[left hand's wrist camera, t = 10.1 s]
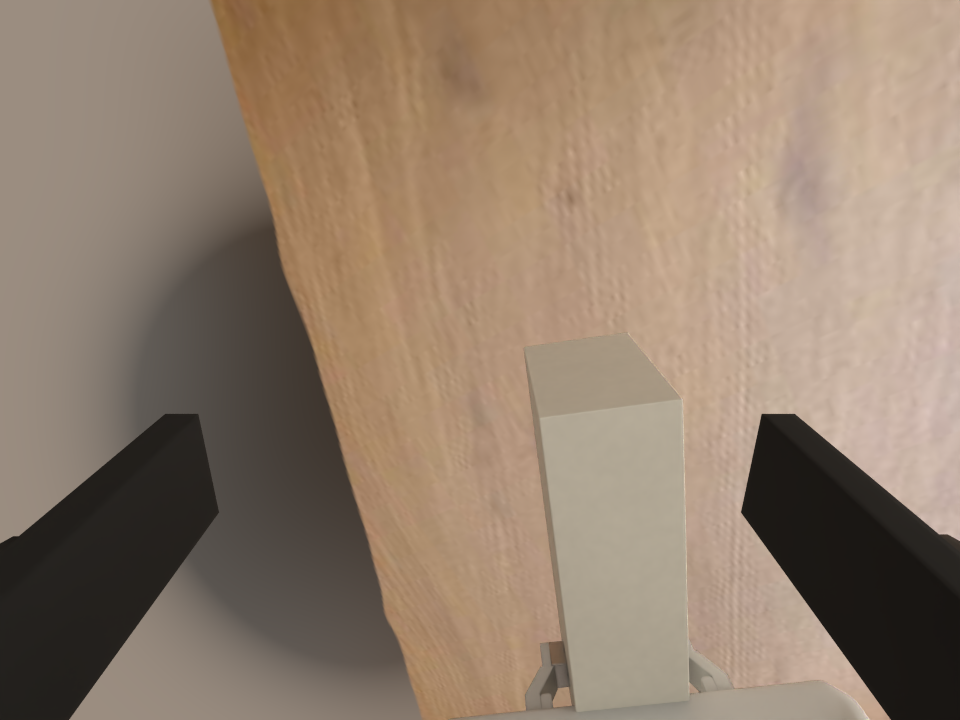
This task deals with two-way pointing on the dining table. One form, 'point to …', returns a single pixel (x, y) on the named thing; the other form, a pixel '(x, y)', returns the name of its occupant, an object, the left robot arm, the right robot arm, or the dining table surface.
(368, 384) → the dining table surface
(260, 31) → the dining table surface
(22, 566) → the left robot arm
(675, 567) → the bar
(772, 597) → the dining table surface
